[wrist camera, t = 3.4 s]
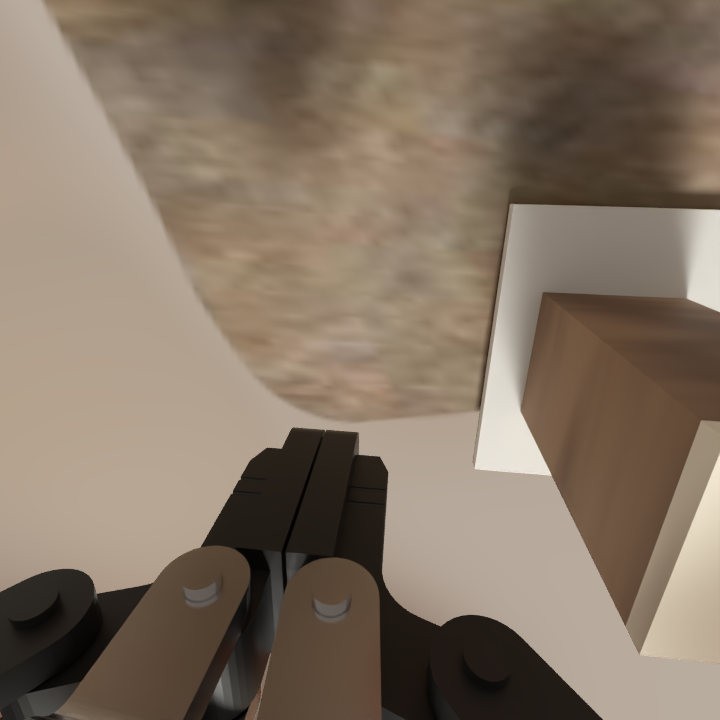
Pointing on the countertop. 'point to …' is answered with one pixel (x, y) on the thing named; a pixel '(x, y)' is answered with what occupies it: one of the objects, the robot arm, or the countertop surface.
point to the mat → (580, 276)
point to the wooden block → (637, 455)
